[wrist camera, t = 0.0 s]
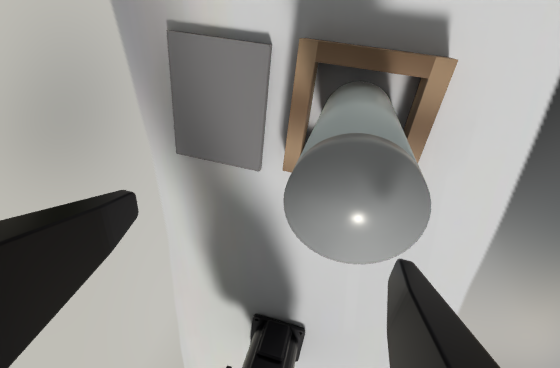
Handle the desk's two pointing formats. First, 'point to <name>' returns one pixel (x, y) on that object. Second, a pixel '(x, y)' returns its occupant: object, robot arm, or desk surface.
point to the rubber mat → (219, 97)
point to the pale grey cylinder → (357, 181)
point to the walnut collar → (378, 59)
